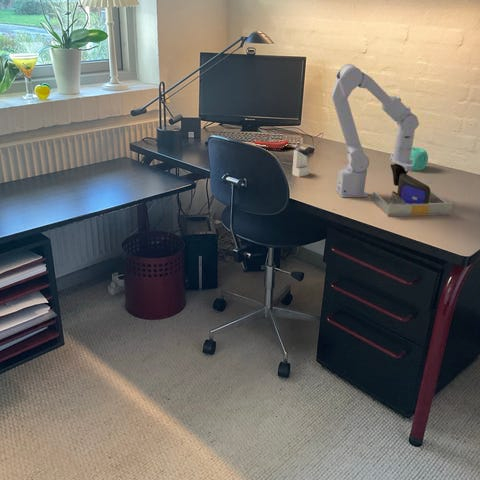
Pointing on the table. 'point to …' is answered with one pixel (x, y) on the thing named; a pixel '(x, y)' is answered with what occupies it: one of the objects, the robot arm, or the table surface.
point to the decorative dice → (418, 158)
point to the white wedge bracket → (300, 164)
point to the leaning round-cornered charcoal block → (412, 190)
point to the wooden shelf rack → (413, 206)
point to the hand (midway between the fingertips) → (397, 185)
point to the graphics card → (273, 144)
